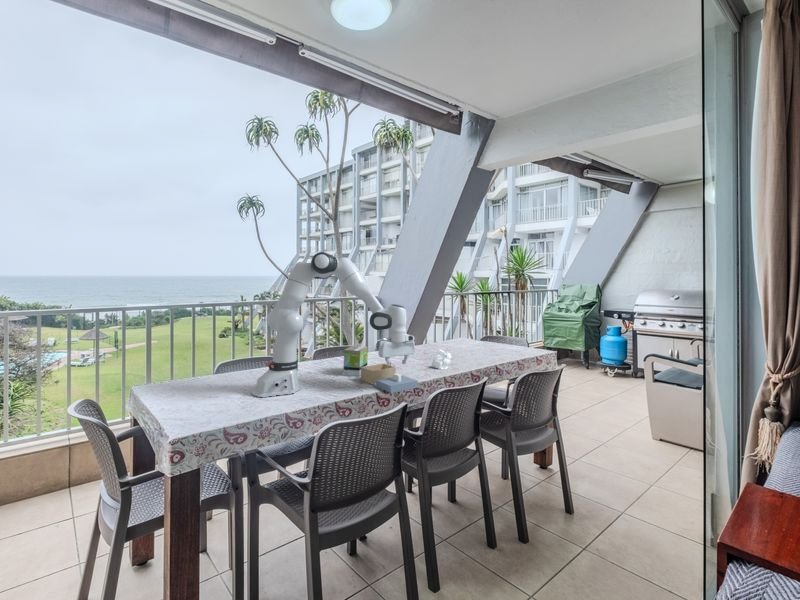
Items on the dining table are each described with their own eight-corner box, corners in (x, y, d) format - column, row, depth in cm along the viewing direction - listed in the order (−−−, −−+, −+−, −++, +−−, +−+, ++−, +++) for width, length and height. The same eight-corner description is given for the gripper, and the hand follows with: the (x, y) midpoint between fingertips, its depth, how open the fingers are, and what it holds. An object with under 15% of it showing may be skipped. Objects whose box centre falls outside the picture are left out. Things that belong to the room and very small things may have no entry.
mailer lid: (390, 393, 187) (390, 379, 187) (375, 387, 198) (375, 374, 197) (417, 387, 198) (418, 374, 197) (402, 381, 208) (402, 369, 207)
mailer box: (371, 384, 202) (372, 371, 202) (360, 379, 211) (360, 367, 211) (395, 380, 211) (395, 367, 211) (383, 375, 220) (383, 363, 220)
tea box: (360, 376, 217) (360, 350, 217) (342, 375, 219) (342, 349, 219) (367, 370, 232) (367, 345, 231) (351, 369, 234) (351, 345, 233)
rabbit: (452, 367, 241) (452, 348, 240) (447, 371, 232) (448, 351, 232) (433, 366, 246) (433, 346, 245) (428, 369, 237) (428, 349, 236)
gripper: (383, 339, 187) (382, 368, 188) (417, 336, 199) (416, 363, 200) (376, 337, 192) (375, 365, 193) (409, 335, 204) (408, 361, 205)
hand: (396, 364), depth 196 cm, fingers open, 8 cm apart
